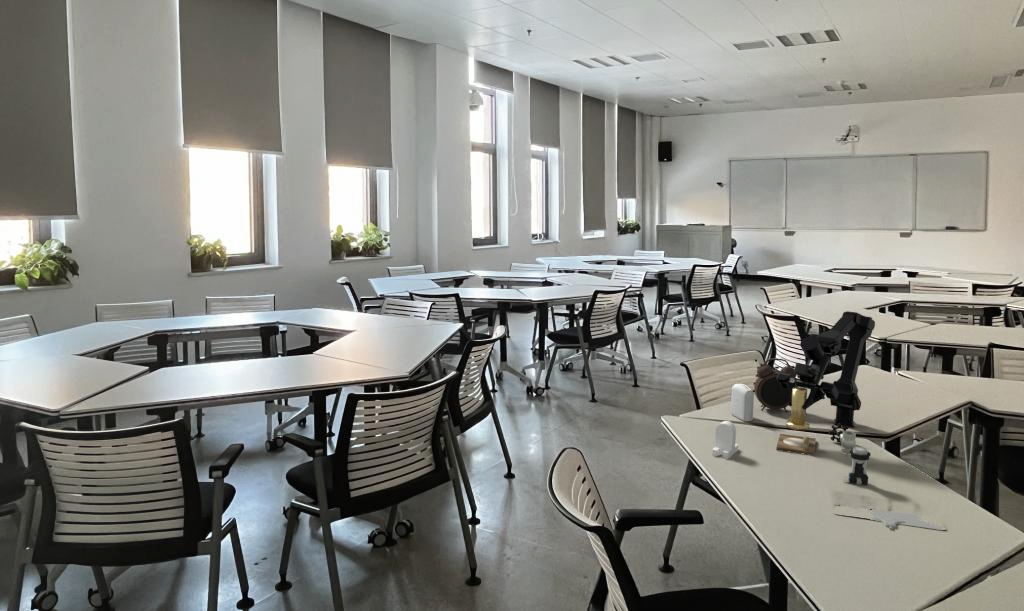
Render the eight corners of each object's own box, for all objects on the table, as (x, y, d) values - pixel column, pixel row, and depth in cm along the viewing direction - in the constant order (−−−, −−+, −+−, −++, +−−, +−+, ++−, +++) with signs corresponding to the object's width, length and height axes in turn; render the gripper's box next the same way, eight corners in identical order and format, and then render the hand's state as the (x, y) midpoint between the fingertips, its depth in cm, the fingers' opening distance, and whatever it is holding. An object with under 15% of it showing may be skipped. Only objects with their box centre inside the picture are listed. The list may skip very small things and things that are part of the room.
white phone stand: (711, 455, 221) (712, 424, 220) (722, 446, 229) (723, 416, 228) (728, 459, 218) (729, 427, 217) (738, 449, 226) (739, 419, 225)
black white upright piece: (844, 485, 198) (847, 451, 197) (840, 478, 204) (842, 444, 202) (870, 487, 197) (873, 453, 195) (865, 480, 202) (868, 446, 200)
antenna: (835, 523, 177) (835, 518, 176) (829, 489, 198) (829, 485, 198) (950, 540, 168) (951, 535, 168) (931, 502, 189) (932, 498, 189)
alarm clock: (755, 412, 265) (758, 360, 262) (752, 406, 272) (755, 355, 269) (796, 414, 262) (799, 361, 259) (792, 408, 269) (795, 357, 266)
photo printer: (728, 413, 263) (730, 381, 261) (739, 413, 264) (741, 380, 262) (743, 422, 253) (745, 388, 251) (754, 421, 254) (756, 388, 252)
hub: (812, 430, 225) (815, 392, 223) (790, 430, 225) (792, 392, 223) (801, 420, 234) (803, 384, 232) (780, 420, 235) (782, 384, 233)
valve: (861, 456, 221) (848, 442, 233) (862, 435, 220) (850, 423, 232) (838, 454, 222) (827, 441, 234) (840, 434, 221) (829, 422, 233)
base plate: (780, 436, 238) (780, 422, 238) (815, 441, 234) (816, 426, 233) (776, 450, 226) (777, 435, 225) (813, 455, 221) (814, 440, 220)
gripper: (780, 349, 235) (761, 387, 229) (836, 359, 221) (817, 400, 215) (791, 368, 241) (772, 406, 236) (846, 379, 227) (828, 419, 222)
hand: (796, 407), depth 227 cm, fingers closed on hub, 4 cm apart
